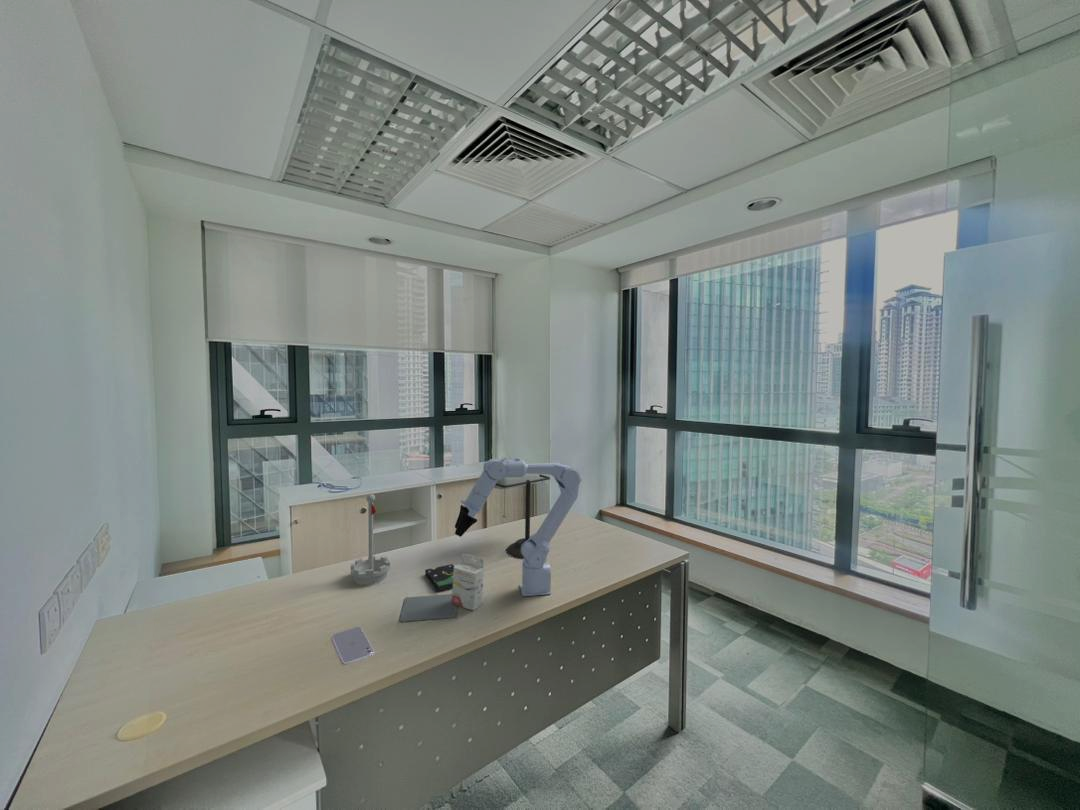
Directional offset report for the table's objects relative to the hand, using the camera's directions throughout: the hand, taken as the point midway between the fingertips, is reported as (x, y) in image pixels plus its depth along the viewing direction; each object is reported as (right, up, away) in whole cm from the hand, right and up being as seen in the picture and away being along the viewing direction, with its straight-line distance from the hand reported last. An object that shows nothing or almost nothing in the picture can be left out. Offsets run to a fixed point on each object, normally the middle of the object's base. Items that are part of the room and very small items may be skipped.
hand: (457, 531), depth 134 cm
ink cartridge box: (+3, -23, -1) cm, 23 cm away
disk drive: (-7, -22, +16) cm, 28 cm away
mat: (-8, -22, -3) cm, 24 cm away
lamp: (+18, -21, +46) cm, 54 cm away
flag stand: (-34, -21, +17) cm, 43 cm away
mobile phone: (-23, -24, -22) cm, 40 cm away
